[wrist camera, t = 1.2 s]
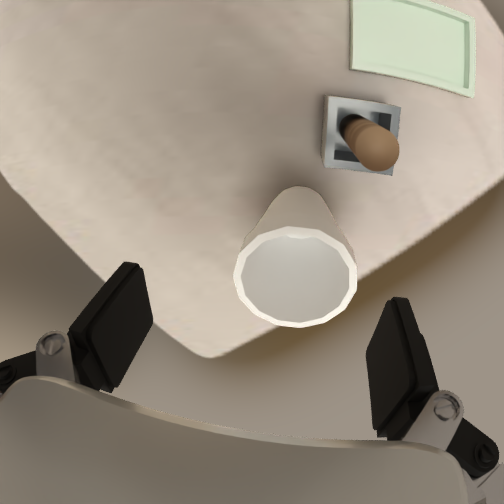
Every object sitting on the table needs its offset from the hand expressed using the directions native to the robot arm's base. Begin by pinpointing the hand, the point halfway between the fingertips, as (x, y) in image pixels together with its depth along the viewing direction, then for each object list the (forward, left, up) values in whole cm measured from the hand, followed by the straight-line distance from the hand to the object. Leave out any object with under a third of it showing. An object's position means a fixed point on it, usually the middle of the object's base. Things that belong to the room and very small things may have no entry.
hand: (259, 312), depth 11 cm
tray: (-15, +12, -23) cm, 30 cm away
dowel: (-4, +6, -22) cm, 24 cm away
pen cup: (-4, +6, -23) cm, 24 cm away
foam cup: (+6, +1, -23) cm, 24 cm away
